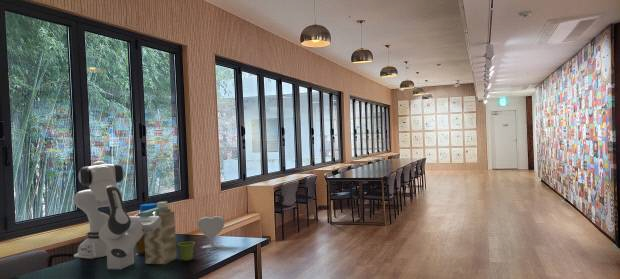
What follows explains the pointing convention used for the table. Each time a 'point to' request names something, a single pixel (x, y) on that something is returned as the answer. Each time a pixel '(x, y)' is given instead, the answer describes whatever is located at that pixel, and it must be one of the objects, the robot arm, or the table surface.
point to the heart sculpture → (211, 228)
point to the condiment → (141, 246)
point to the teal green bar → (155, 209)
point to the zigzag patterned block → (161, 240)
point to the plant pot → (186, 250)
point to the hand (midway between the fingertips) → (148, 212)
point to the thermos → (147, 207)
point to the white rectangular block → (119, 260)
